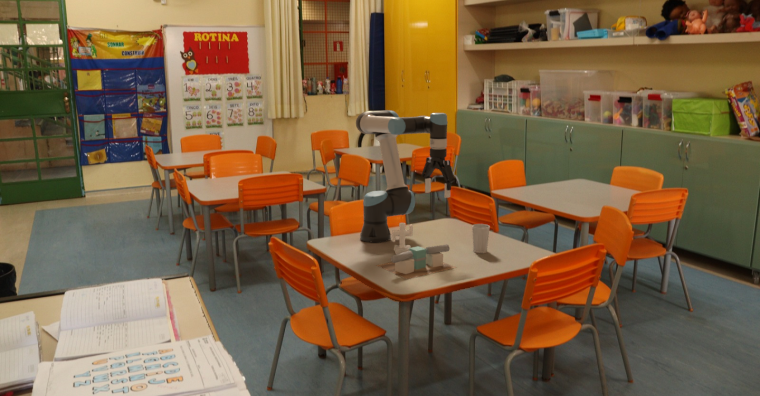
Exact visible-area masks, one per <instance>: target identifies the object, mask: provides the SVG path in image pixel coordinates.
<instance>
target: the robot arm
mask: <svg viewBox="0 0 760 396" xmlns="http://www.w3.org/2000/svg"><path fill="white" fill-rule="evenodd" d="M355 127H356V129H357V130H358V132H360V133H362V134H364V135H374V137H375V140H377V141H379V147H380V152H381V153H380V155H381V159H382V163H383V169H384V174H385V175H384V176H385V180H386V185H387V187H386V189H385V190H373V191H369V192H367V193H365V195H363V201H362V202H363V203H362V205H363V225H362V227H361V232H360V235H359V238H360V240H361V241H363V242H365V243H384V242H389V241H390V240H392V233H391V231H390V228H389V225H388V217H395V216H396V217H397V216H405V215H408V214H409V215H410V214H411V213H412V212H413V211H414V209H415V205H416V197H415V194H414V192H413V191H411V190H409V186H408V185H407V184H405V180H404V175H403V169H402V165H401V159H400V153H399V149H398V144H397V138H398V136H400V135H410V134H411V135H412V134H413V135H414V134H429V147H430V148H429V156H428V157H425V158H426V159H425V163H424V166H423V170H422V172H421V177H423V178H424V193H425V194H426V193H427V194H428V193H431V191H432V189H431V188H432V184H431V183H432V179H431V176H432V175H433V173H434V171H435V170H439V171H440V172H441V175H442V177H443V179H444V181H445V182H444V196H443V197H444V199H446V198H451V190H452V183H455V181H456V180H455V176H454V173H453V169H452V166H451V160H450V159H448V160H446V157H447V154H448V153H447V152H448V151H447V147H448V115H447V113H444V112H432V113H430V116H427V115H419V116H405V117H404V116H402V117H400V116H399V114H398V113H397V112H396V111H394V110H388V109H386V110H368V111H364V112H361V113H360V114H359V115H358V116H357V117H356V120H355Z"/></svg>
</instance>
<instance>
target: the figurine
mask: <svg viewBox="0 0 760 396" xmlns="http://www.w3.org/2000/svg"><path fill="white" fill-rule="evenodd" d="M406 224H407V223H405V222H399V224H398V225H399V226H398V227H399V229H393V230H392V232H391V242H392V243H395V242H396V237H399V244H394V246H393V251H394V253H395V255H397V254H400V253H404V252H407V251H409V248H411V245H409V244H406V237H412V236H413V234H414V233H413V232H414V225H413V224H412V223H411V224H409V227H408V228H409V229H408V230H407V229H406Z"/></svg>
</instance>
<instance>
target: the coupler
mask: <svg viewBox="0 0 760 396" xmlns="http://www.w3.org/2000/svg"><path fill="white" fill-rule="evenodd" d="M409 251H412V253H413V257H412V258H410V259H413V260H414V269H416V270H417V269H421V268H425V267H426V247H425V248H424V247H421V246H413V247H410V248H409Z"/></svg>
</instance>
